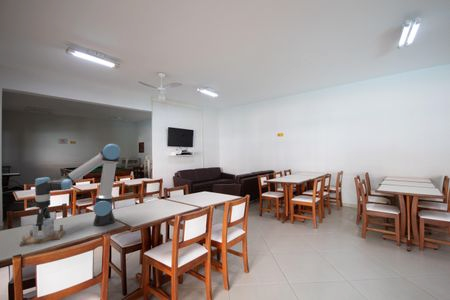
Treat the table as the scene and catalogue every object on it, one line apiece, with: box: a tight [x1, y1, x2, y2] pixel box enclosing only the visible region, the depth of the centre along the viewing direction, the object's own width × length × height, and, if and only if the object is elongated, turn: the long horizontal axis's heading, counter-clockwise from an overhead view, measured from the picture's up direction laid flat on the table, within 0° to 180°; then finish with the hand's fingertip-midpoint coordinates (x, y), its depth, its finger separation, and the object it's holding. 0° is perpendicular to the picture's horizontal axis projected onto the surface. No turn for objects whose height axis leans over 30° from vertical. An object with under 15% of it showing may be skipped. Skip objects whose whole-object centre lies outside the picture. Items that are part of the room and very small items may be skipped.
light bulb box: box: [32, 217, 55, 240], centre depth 140 cm, size 11×7×11 cm, turn 11°
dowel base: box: [19, 224, 66, 247], centre depth 140 cm, size 20×15×6 cm
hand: (43, 231), depth 140 cm, fingers open, 13 cm apart
